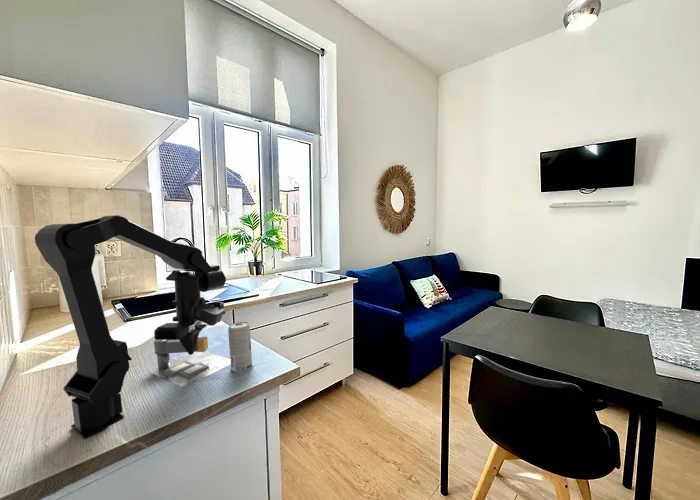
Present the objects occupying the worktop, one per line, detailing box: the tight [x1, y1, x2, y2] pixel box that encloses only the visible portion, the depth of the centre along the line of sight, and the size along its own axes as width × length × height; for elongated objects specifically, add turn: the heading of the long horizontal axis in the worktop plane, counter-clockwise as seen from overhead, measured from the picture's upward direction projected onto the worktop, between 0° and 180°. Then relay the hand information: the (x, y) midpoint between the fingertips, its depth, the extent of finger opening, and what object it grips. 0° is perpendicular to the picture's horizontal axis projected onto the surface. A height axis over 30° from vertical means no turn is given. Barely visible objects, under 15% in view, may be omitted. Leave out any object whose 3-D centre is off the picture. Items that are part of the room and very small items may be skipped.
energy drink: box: [227, 321, 253, 373], centre depth 81 cm, size 5×5×12 cm
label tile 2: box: [164, 361, 195, 376], centre depth 81 cm, size 6×4×1 cm, turn 149°
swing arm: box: [153, 336, 209, 356], centre depth 82 cm, size 13×4×3 cm, turn 94°
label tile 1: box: [178, 363, 209, 378], centre depth 80 cm, size 6×4×1 cm, turn 149°
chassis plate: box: [148, 350, 231, 389], centre depth 82 cm, size 15×16×4 cm
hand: (191, 354), depth 79 cm, fingers closed
